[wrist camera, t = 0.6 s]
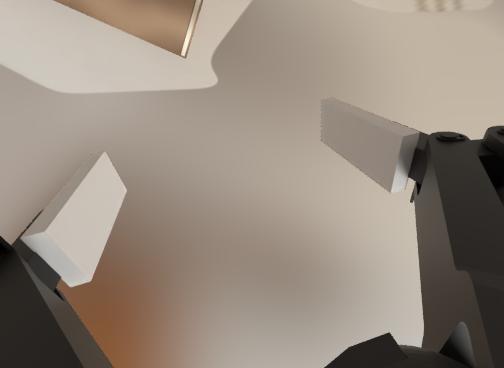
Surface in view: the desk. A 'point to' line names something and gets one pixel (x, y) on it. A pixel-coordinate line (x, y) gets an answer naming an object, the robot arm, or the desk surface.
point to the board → (147, 19)
